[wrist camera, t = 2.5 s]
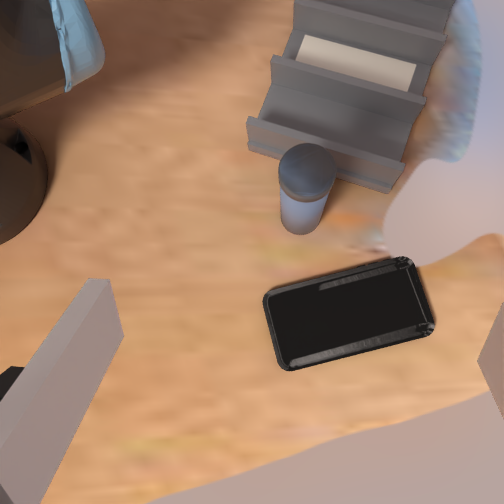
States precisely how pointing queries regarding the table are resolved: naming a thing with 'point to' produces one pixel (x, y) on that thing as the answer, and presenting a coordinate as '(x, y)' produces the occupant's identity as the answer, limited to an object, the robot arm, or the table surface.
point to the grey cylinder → (305, 186)
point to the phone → (347, 313)
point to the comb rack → (352, 84)
